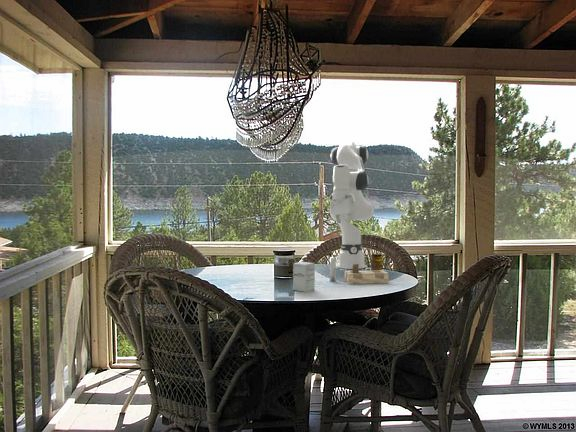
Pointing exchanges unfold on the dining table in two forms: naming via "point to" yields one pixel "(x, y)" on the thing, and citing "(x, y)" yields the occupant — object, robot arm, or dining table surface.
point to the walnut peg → (355, 268)
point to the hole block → (366, 277)
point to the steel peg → (332, 269)
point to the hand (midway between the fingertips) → (343, 223)
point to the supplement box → (303, 276)
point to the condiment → (376, 262)
